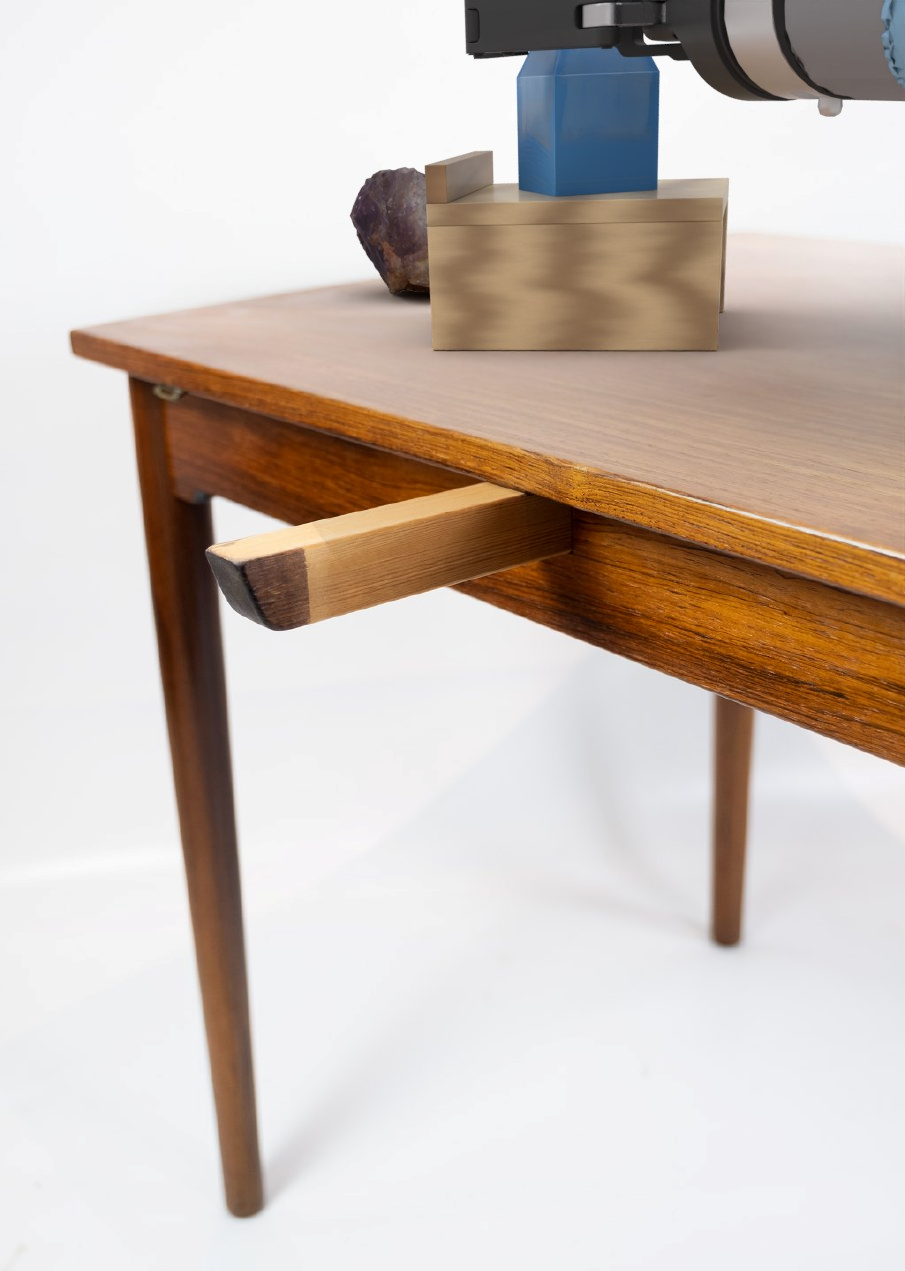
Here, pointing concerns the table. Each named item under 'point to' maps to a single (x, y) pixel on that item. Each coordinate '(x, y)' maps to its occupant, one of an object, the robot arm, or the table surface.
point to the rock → (395, 227)
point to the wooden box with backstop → (573, 263)
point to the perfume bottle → (587, 122)
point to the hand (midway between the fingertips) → (595, 28)
